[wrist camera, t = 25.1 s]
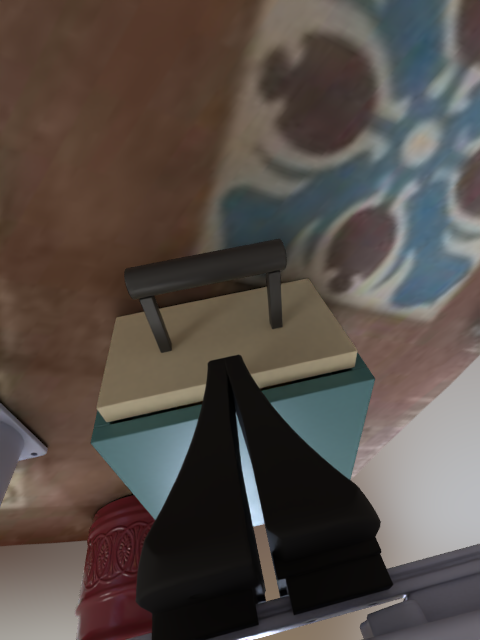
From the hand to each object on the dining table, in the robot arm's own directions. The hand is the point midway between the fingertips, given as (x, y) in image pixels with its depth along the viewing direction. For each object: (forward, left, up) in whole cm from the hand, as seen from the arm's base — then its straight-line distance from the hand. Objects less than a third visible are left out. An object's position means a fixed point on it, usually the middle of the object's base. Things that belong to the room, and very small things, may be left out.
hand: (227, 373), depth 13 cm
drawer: (0, -6, -7) cm, 10 cm away
